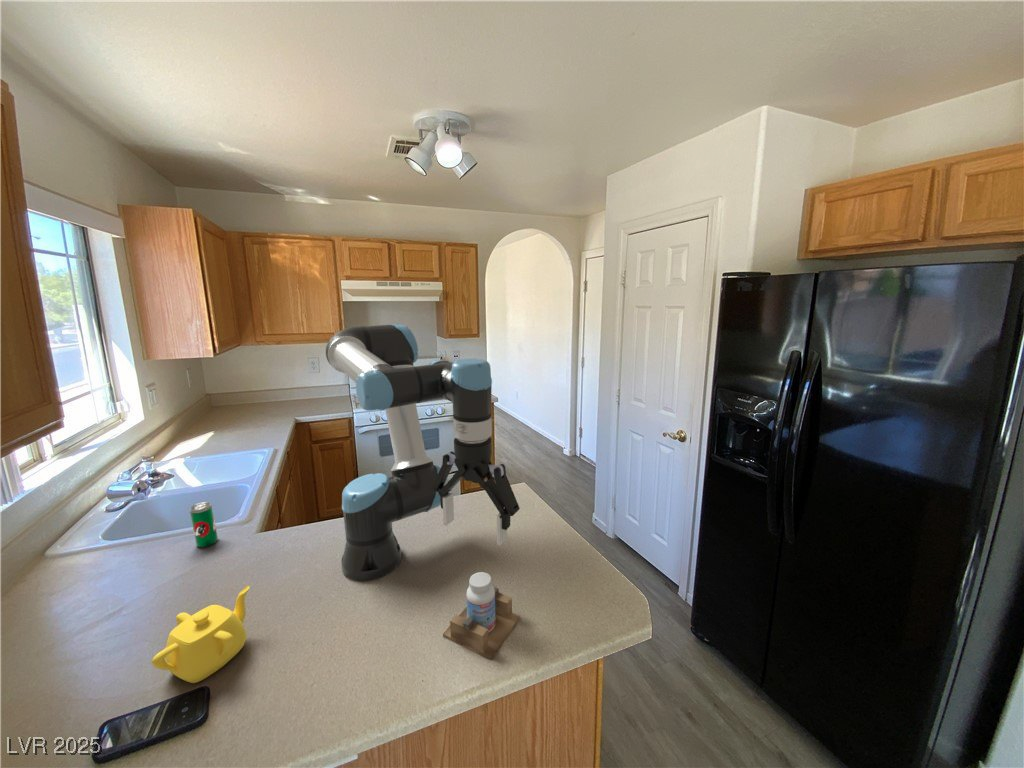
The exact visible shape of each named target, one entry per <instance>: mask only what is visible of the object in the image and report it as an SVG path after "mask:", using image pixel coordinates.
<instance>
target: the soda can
mask: <svg viewBox="0 0 1024 768" xmlns="http://www.w3.org/2000/svg"><path fill="white" fill-rule="evenodd" d="M189 514H190V519H191V526H192V531H193V534H194V540H195V544H196V545H195V546H196V547H199V548H207V547H210V546H212V545H213V544H215V543H217V541H218V539H219V537H218V532H217V527H216V521H215V516H214V515H215V514H214V511H213V505H212V504H210V502H209V501H204V502H203V501H202V502H199V503H196V504H193V505H191V507H190V511H189Z"/></svg>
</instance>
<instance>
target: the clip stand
mask: <svg viewBox="0 0 1024 768" xmlns="http://www.w3.org/2000/svg"><path fill="white" fill-rule="evenodd" d="M493 587H494V590H495V626H494V628H493V630H492V631H490V632H489V633H488V629H487V628H485V627H482V626H480V625H478V624H476V623H474V618H472V617H468V618H467V606H466V607H465V608H464V609H463V610H462V611H461V612H460V614H459V615H458V614H454V616H453V617H452V618H451V619H450V621H449V626H448V627H447V628H446V629H445V630H444V631H443V632H442V637H444V638H445V639H448V640H450V641H452V642H454V643H456V644H457V645H459V646H461V647H464V648H466V649H468V650H470V651H472V652H474V653H476V654H477V655H480V656H481V657H484V658H486V659H488V660H490V661H492V660H493V659H494V657H495V656H496V654H497V653H498V651H499V650H500V649H501V647H502V646H503V644H504V643H505V642H506V640H507V638H508V637H509V636H510V634H511V632H512V631H513V629H514V628H515V626H517V623H519V621H520V619H521V616H520V615H519V614H516V613H514V612H513V597H511V596H510V595H506V594H504V593H502V592H500V590H499V588H498V587H496V586H493Z"/></svg>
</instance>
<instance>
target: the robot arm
mask: <svg viewBox="0 0 1024 768" xmlns="http://www.w3.org/2000/svg"><path fill="white" fill-rule="evenodd" d="M418 351H419V348H418V342H417V339H416V337H415V335H414V333H413V331H412V330H411V329H410V328H409V327H408V326H406V325H404V324H393V323H389V324H382V325H378V324H377V325H364V326H363V325H360V326H357V325H355V326H350V327H347V328H343V329H341V330H339V331H338V332H336V333H334V335H332V336H331V337H330V338H329V341H328V342H327V345H326V346H325V357H326V358H325V359H326V360H327V362H328V363H329V365H331V367H332V368H333V369H334V370H335V371H338V372H339V373H343V374H346V376H348V377H349V379H351V380H352V381H353V382H354V383H355V389H356V391H355V392H356V397H357V401H358V402H359V406H360V407H361V408H362V409H363V410H364V411H367V412H370V411H377V410H378V411H385V416H386V422H387V424H388V425H387V426H388V431H389V435H390V443H391V446H392V451H393V457H394V464H393V466H392V468H391V469H390V472H391V476H390V477H388V475H386V474H384V473H379V472H377V473H367V474H364V475H361V476H359V477H357V478H354V479H353V480H351V481H350V482H349V483H348V484H347V485H346V486H345V487H344V488H343V490H342V493H341V510H342V512H343V522H344V531H345V533H344V534H345V546H344V551H343V554H342V556H341V560H340V561H341V571H342V573H343V575H344V576H345V577H346V578H348V579H350V580H353V581H359V582H366V581H373V580H377V579H379V578H381V577H385V576H387V575H388V574H390V573H391V572H392V571H393V572H394V570H396V568H397V567H398V566H399V564H400V563H401V561H402V548H401V546H400V544H399V542H398V540H397V537H396V535H395V533H394V531H393V523H395V522H398V521H401V520H405V519H407V518H410V517H413V516H416V515H420V514H421V513H429V512H430V511H431V510H434V509H436V508H439V507H440V508H441V509H442V513H443V514H442V515H443V516H442V518H443V519H442V520H443V521H442V523H443V526H446V527H447V526H448V525H449V524H451V523H452V522H454V521H455V511H454V508H455V507H454V492H451V491H452V490H453V488H454V487H455V486H456V485H457V484H458V483H459V482H460V481H461V480H462V479H464V481H467V482H472V483H474V484H478V485H479V486H480V488H481V489H484V491H485V492H486V494H487V496H488V497H489V499H490V501H491V502H492V504H493V505H494V507H495V508H496V510H497V511H498V513H497V514H496V545H498V546H502V544H503V543H504V542H505V541H506V540H507V539H508V529H509V528H510V527H511V517H513V516H515V515H516V513H518V512H519V511H520V509H521V508H520V506H519V503H518V500H517V498H516V496H515V494H514V491H513V489H512V486H511V484H510V482H509V479H508V477H507V476H508V475H507V471H506V465H505V464H504V463H500V464H499V465H495V464H493V463H492V460H491V458H492V447H493V445H492V437H491V436H492V431H493V430H492V423H493V422H492V391H493V390H492V386H493V385H492V384H493V378H492V372H491V364H490V363H489V361H488V360H485V359H478V358H460V359H457V360H455V361H454V362H452V361H449V360H442V359H438V360H434V361H432V362H430V363H429V364H425V365H417V366H414V363H416V362H417V361H418V358H419V353H418ZM440 400H447V401H449V402H450V403H452V418H453V419H452V420H453V437H454V439H453V451H449V452H448V453H447V452H446V454H444V455H443V456H442V463H441V466H439V465H436V464H434V461H433V459H432V458H430V457H429V456H428V455H426V454H427V453H426V449H425V443H424V438H423V435H422V434H423V433H422V428H421V423H420V419H419V417H420V416H419V413H418V408H417V404H422V403H428V402H433V401H440ZM453 465H455V466H456V468H457V471H456V472H455V473H454V474H453V475H452V477H451V478H450V479H449V480H448V481H447V479H448V477H449V475H450V472H451V471H452V468H453ZM485 479H486V480H485ZM446 481H447V482H446Z"/></svg>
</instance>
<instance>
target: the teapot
mask: <svg viewBox="0 0 1024 768" xmlns="http://www.w3.org/2000/svg"><path fill="white" fill-rule="evenodd" d="M249 589H251V586H250V585H248V586H245V587H244V588H243V589H241V591H239V593H238V596H237V597H236V601H235V606H234V610H233V611H232V610H231V609H229V608H227V607H225V606H222V605H220V604H211V605H209V606H206V607H204V608H202V609H200V610H199V611H197V612H196V613H194V614H192V615H191V614H189V613H187V612H186V611H185V612H180V613H179V614H177V615H176V617H175V620H176V623H177V626H175V627H174V628H173V629H172V630H171V631H170V632H169V634H168V638H167V641H166V646H165V648H164V649H162V650H161V651H159V652H158V653H156V654H155V656H153V658H152V660H151V664H152V666H153V667H154V668H156V669H159V670H164V671H169V672H170V673H172V675H174V676H175V677H177V678H179V679H181V680H183V681H185V682H187V683H191V684H196V683H199V682H201V681H203V680H205V679H207V678H208V677H209V676H211V675H213V674H214V673H216V672H217V671H218V670H220V669H222V668H223V667H224V666H225V665H226V664H228V663H229V662H230V661H231V660H232V659H233V658H234V657H235V656H236V655H237V654H238V653H239V652H240V651H241V649H242V648H244V645H245V642H246V639H247V632H246V629H245V627H244V620H245V619H246V603H245V602H246V601H245V600H246V599H245V598H246V595H247V593H248V591H249Z"/></svg>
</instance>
